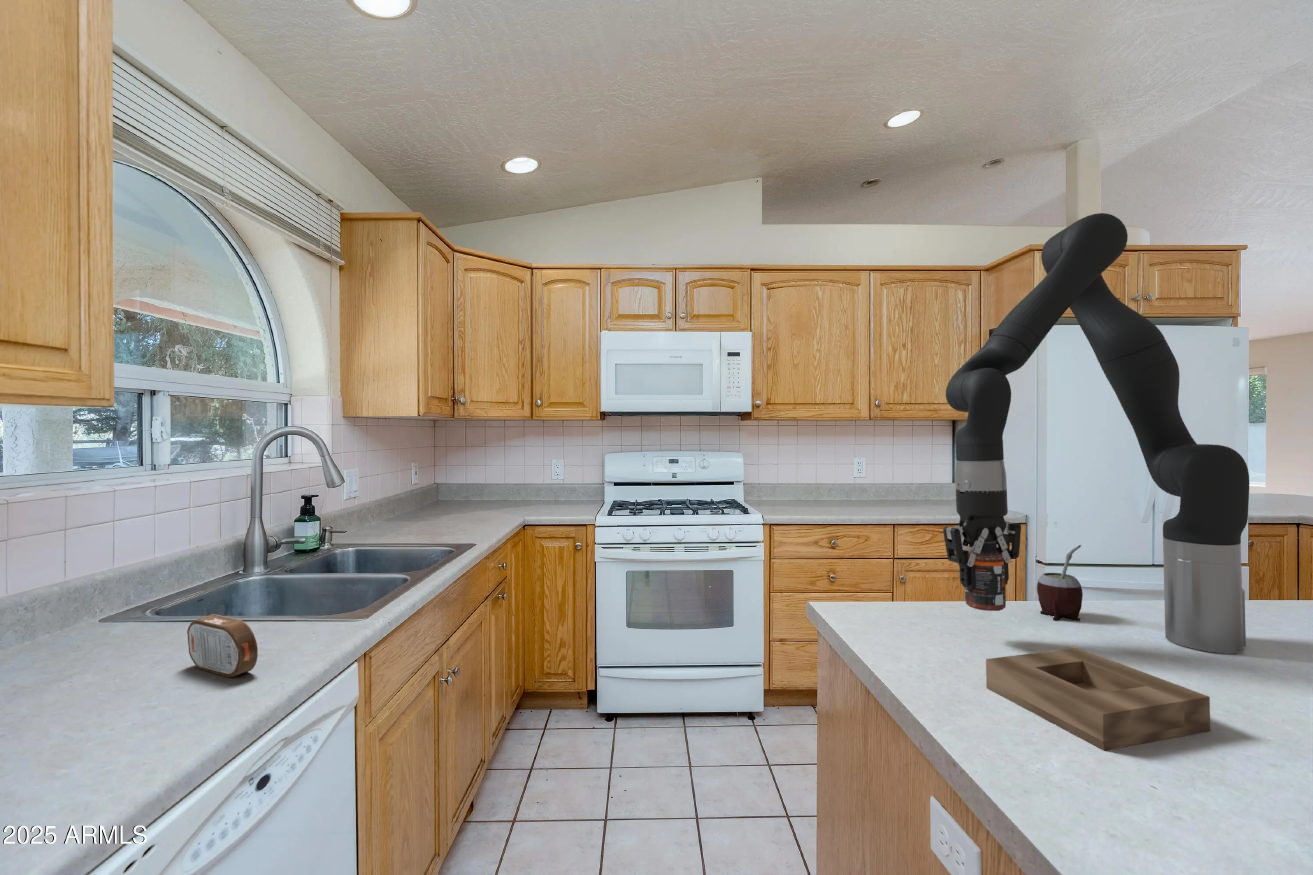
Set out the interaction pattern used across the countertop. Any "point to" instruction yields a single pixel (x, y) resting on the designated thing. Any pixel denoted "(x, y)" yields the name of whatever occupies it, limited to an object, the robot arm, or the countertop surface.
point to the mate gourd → (1060, 593)
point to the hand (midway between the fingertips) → (984, 585)
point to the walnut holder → (1098, 697)
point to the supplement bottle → (988, 580)
